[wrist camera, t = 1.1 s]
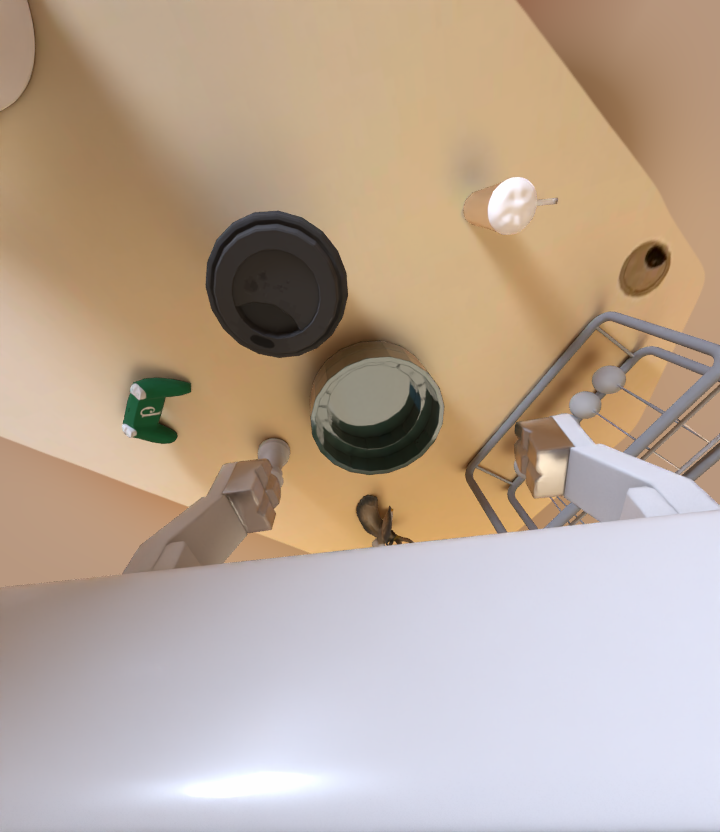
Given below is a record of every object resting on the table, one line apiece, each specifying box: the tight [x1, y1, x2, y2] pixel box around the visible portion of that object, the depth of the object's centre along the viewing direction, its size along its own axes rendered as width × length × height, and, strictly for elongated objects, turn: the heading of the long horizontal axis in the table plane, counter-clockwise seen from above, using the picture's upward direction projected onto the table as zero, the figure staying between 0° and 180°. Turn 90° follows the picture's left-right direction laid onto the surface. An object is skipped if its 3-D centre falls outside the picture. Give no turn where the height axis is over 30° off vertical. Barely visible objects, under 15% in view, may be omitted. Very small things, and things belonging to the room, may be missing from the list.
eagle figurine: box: [357, 495, 414, 547], centre depth 58 cm, size 8×7×9 cm
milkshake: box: [463, 177, 558, 235], centre depth 36 cm, size 4×5×10 cm
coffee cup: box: [206, 211, 348, 358], centre depth 34 cm, size 11×11×15 cm
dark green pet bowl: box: [310, 341, 444, 475], centre depth 47 cm, size 16×16×6 cm
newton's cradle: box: [465, 312, 720, 534], centre depth 47 cm, size 30×10×18 cm, turn 149°
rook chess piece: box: [258, 438, 290, 488], centre depth 48 cm, size 4×4×8 cm
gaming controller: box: [122, 378, 191, 444], centre depth 45 cm, size 9×4×6 cm
